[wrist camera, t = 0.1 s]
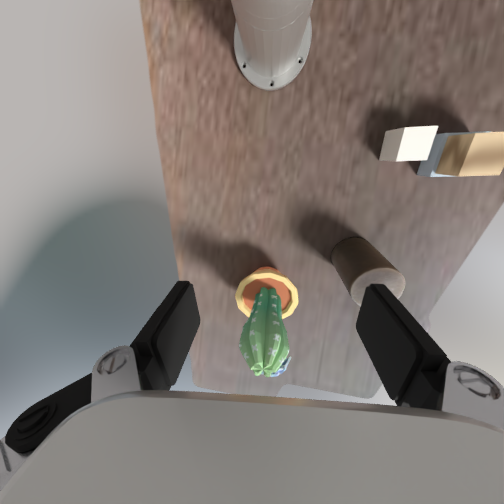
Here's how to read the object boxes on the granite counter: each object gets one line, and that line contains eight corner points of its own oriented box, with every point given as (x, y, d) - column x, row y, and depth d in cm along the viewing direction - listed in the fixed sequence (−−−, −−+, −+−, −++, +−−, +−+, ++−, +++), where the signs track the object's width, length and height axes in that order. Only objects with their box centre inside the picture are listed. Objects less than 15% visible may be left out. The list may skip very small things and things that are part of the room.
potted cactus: (238, 298, 58) (218, 388, 36) (240, 252, 51) (218, 329, 29) (290, 304, 57) (302, 400, 35) (299, 259, 50) (323, 342, 28)
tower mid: (448, 136, 33) (475, 133, 29) (487, 134, 33) (521, 130, 28) (434, 173, 36) (458, 176, 32) (470, 172, 35) (499, 174, 31)
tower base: (428, 135, 37) (445, 133, 33) (469, 133, 36) (490, 131, 33) (415, 174, 40) (430, 176, 36) (453, 173, 39) (471, 175, 36)
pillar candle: (339, 233, 47) (366, 266, 33) (379, 241, 47) (422, 277, 33) (325, 267, 51) (343, 307, 38) (361, 274, 51) (393, 317, 38)
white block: (385, 131, 37) (404, 127, 32) (413, 129, 36) (438, 125, 31) (378, 160, 39) (395, 161, 34) (405, 159, 39) (427, 160, 33)
